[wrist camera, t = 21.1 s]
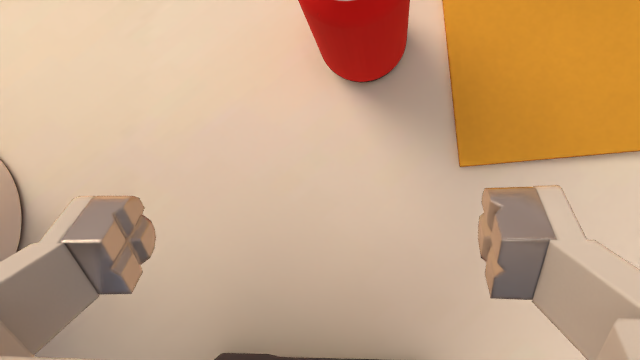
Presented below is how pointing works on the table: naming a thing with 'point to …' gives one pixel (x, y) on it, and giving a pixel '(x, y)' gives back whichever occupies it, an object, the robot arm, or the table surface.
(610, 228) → the table surface
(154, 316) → the table surface
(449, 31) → the cloth
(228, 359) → the calculator
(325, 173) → the table surface
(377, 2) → the beverage can
